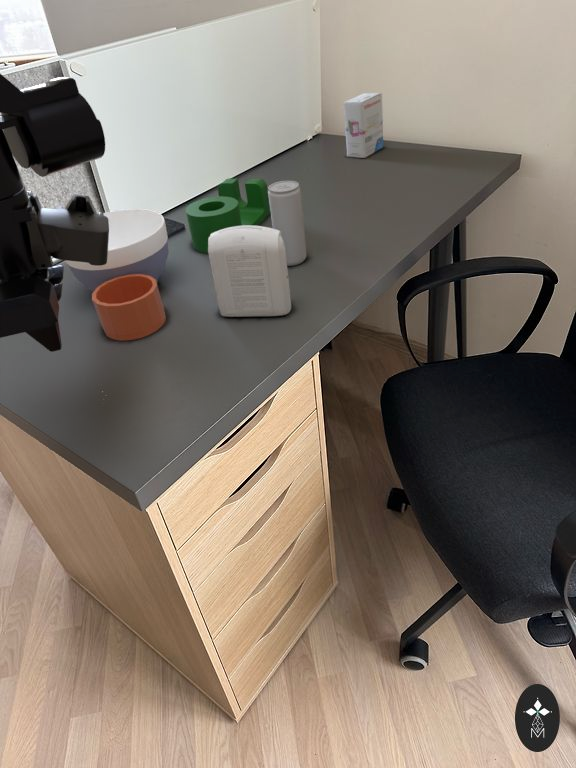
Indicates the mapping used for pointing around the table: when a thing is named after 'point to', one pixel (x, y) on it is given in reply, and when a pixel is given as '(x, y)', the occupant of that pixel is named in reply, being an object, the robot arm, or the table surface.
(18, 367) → the table surface
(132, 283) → the cup
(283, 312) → the white rounded block
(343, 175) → the table surface
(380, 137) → the ink box
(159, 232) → the bowl
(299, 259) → the beverage can
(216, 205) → the green bracket
